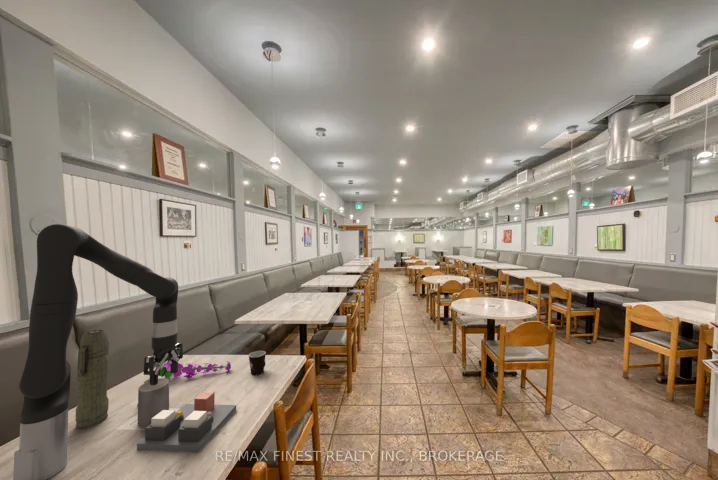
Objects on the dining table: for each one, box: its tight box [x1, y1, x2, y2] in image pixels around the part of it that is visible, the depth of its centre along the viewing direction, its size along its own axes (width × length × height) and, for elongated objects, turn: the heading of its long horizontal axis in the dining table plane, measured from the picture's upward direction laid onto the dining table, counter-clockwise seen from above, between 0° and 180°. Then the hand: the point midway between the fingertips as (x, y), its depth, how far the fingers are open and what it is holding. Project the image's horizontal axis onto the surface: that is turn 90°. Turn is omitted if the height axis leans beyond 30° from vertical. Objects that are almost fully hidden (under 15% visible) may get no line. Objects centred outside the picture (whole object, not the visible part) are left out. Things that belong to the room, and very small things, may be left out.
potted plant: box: [158, 360, 232, 379], centre depth 136 cm, size 12×16×35 cm
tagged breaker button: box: [151, 409, 176, 427], centre depth 90 cm, size 5×5×4 cm
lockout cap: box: [193, 391, 216, 413], centre depth 102 cm, size 5×5×6 cm
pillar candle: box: [137, 377, 170, 428], centre depth 101 cm, size 10×10×15 cm
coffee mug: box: [248, 350, 267, 376], centre depth 137 cm, size 12×9×10 cm
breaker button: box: [184, 411, 207, 428], centre depth 89 cm, size 5×5×4 cm
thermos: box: [75, 329, 110, 430], centre depth 101 cm, size 9×12×35 cm
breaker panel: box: [136, 403, 237, 453], centre depth 95 cm, size 22×22×6 cm
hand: (164, 378), depth 91 cm, fingers open, 8 cm apart
